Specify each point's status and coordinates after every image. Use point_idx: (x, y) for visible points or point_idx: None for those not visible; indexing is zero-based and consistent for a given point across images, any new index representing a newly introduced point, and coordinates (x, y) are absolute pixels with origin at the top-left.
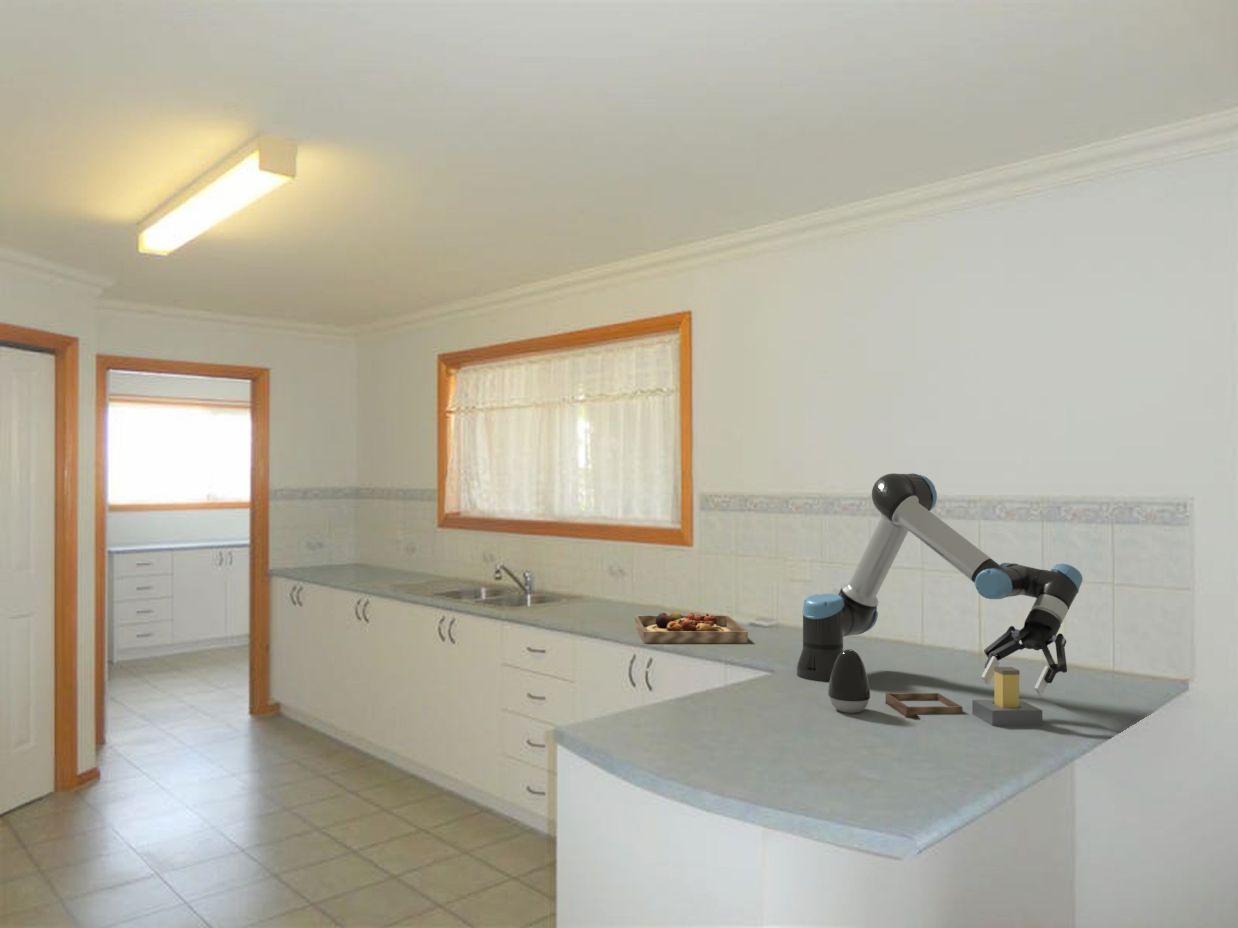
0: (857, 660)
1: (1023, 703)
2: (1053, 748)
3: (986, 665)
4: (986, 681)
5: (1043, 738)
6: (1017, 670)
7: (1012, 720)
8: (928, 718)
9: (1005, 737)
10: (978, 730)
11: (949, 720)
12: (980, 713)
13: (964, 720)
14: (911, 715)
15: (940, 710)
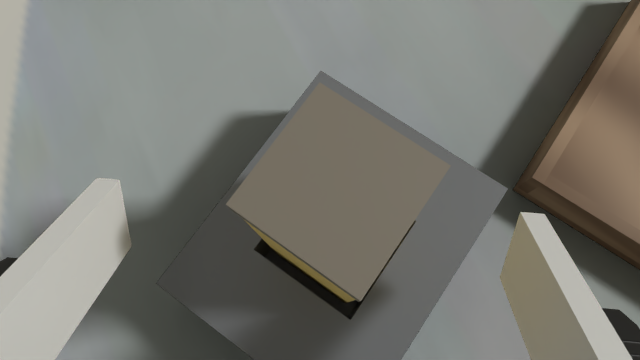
0: None
1: (292, 349)
2: (60, 66)
3: (615, 322)
4: (509, 252)
5: (132, 159)
6: (237, 189)
7: None
8: (575, 57)
9: (238, 56)
10: (352, 61)
11: (508, 98)
12: None
13: (473, 148)
14: (625, 11)
15: (577, 98)
